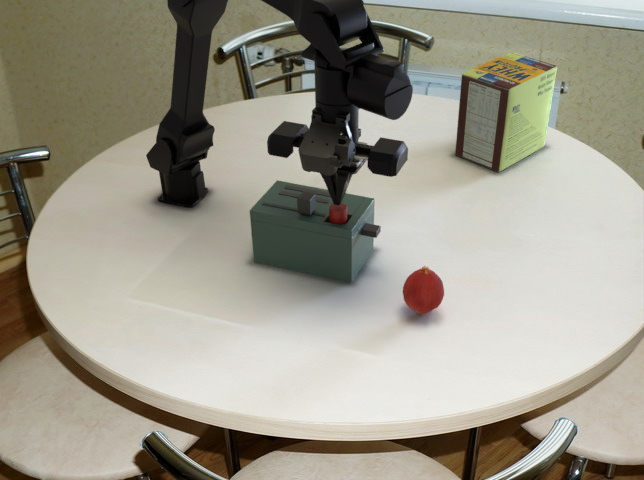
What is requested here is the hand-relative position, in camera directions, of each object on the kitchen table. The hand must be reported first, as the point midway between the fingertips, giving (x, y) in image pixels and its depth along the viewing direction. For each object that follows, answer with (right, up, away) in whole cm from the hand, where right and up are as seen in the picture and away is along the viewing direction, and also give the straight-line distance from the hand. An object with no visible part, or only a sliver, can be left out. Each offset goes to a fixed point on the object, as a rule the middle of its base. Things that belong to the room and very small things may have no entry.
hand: (337, 203), depth 122 cm
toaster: (-3, -6, +10) cm, 12 cm away
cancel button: (0, -2, +2) cm, 3 cm away
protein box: (+29, +18, +39) cm, 52 cm away
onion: (+12, -16, 0) cm, 20 cm away
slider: (-5, 0, +2) cm, 5 cm away
